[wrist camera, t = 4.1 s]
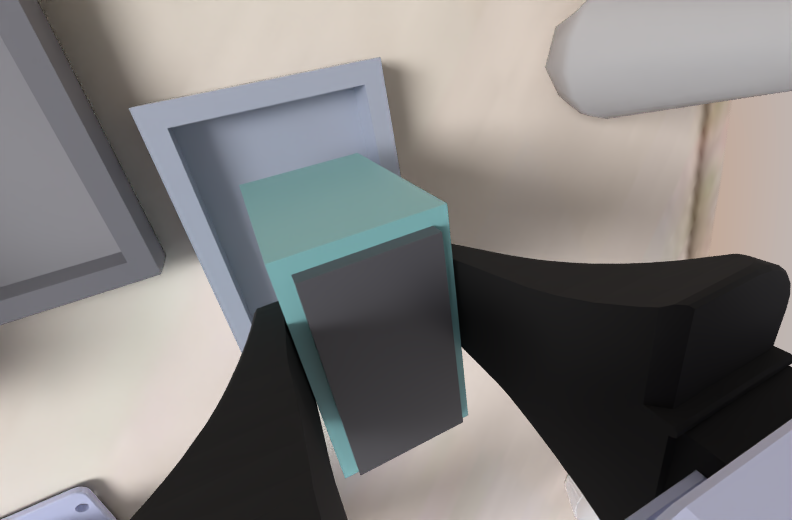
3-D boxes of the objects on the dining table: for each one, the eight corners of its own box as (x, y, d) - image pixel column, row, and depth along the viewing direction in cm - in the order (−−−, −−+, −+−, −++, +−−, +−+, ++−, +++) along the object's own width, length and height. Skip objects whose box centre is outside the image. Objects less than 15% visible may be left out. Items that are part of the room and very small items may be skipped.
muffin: (577, 499, 41) (640, 570, 35) (541, 499, 37) (603, 576, 32) (611, 451, 40) (681, 516, 34) (576, 447, 36) (647, 517, 31)
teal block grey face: (357, 152, 14) (457, 208, 8) (390, 313, 17) (475, 424, 12) (238, 185, 12) (267, 273, 7) (300, 350, 16) (349, 491, 11)
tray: (406, 291, 22) (423, 309, 20) (249, 353, 20) (254, 379, 18) (361, 60, 17) (380, 57, 15) (138, 105, 14) (128, 108, 12)
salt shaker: (559, 137, 22) (896, 189, 11) (513, 49, 19) (917, 2, 8) (630, 62, 22) (1036, 41, 11) (596, -39, 19) (1109, -201, 8)
